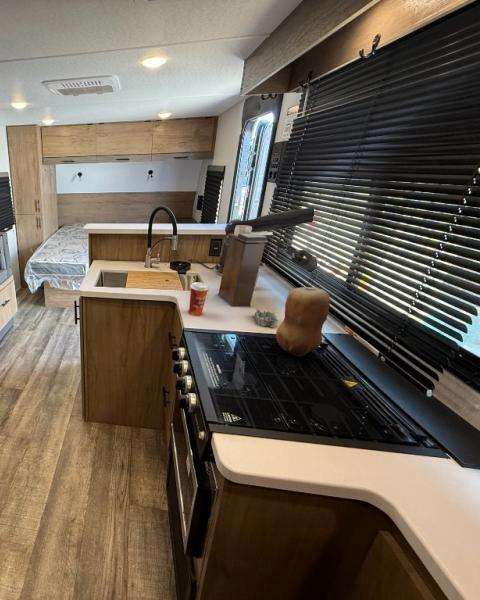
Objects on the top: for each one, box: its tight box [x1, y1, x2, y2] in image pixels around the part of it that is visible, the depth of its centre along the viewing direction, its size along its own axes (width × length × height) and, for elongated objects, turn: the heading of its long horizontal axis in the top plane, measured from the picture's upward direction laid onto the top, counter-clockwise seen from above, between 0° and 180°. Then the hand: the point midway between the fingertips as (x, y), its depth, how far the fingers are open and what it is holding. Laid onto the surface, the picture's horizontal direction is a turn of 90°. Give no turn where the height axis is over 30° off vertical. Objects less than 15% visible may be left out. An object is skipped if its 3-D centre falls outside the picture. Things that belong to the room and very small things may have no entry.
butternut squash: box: [275, 286, 331, 357], centre depth 106 cm, size 14×13×25 cm
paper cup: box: [188, 281, 210, 317], centre depth 138 cm, size 8×8×14 cm
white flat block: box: [234, 225, 274, 236], centre depth 145 cm, size 7×18×4 cm, turn 92°
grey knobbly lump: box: [253, 307, 279, 328], centre depth 132 cm, size 11×8×4 cm
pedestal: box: [217, 234, 269, 307], centre depth 148 cm, size 16×10×32 cm, turn 2°
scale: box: [238, 234, 269, 241], centre depth 137 cm, size 8×10×2 cm
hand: (281, 244), depth 148 cm, fingers open, 8 cm apart
